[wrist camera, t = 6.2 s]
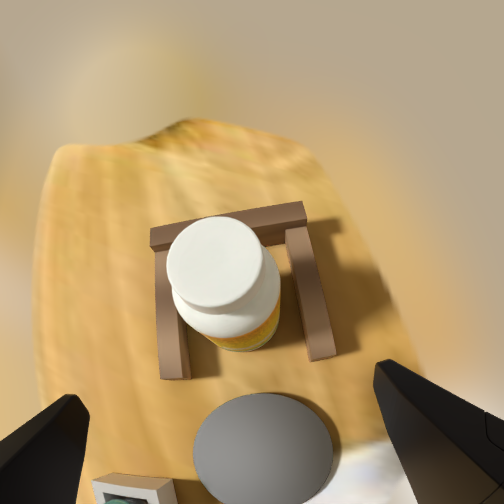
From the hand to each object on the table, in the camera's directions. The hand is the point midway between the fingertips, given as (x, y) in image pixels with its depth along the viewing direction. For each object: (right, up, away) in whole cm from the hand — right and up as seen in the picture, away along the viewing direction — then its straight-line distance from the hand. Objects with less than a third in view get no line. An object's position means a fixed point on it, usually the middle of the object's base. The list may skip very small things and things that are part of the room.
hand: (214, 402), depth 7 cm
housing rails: (0, +1, +14) cm, 14 cm away
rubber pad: (+2, -9, +9) cm, 13 cm away
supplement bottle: (0, 0, +13) cm, 13 cm away
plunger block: (-7, -14, +7) cm, 17 cm away
